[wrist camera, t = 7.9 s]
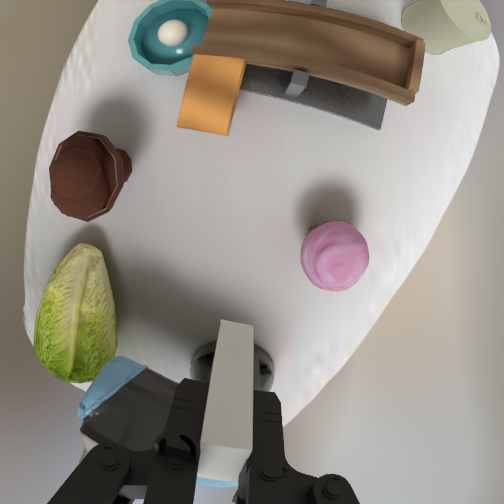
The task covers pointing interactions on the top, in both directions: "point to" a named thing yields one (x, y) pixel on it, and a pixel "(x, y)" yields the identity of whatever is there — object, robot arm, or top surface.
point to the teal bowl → (159, 55)
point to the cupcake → (334, 255)
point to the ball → (172, 33)
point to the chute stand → (315, 91)
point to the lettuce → (77, 318)
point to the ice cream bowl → (87, 175)
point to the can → (446, 23)
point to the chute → (294, 55)
